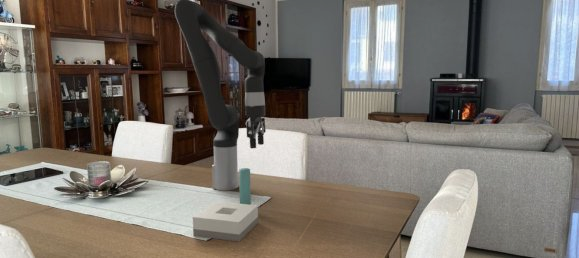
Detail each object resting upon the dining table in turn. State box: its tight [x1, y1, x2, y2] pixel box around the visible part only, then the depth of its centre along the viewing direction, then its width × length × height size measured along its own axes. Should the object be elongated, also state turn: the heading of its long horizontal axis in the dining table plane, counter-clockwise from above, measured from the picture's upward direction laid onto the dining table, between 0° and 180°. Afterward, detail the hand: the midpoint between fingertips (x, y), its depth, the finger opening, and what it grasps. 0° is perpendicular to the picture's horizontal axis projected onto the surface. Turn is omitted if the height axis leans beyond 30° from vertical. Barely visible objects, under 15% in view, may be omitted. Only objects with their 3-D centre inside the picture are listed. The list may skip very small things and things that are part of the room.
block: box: [192, 201, 259, 242], centre depth 113 cm, size 14×14×6 cm
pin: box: [238, 167, 252, 205], centre depth 128 cm, size 4×4×14 cm
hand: (257, 146), depth 149 cm, fingers open, 8 cm apart
